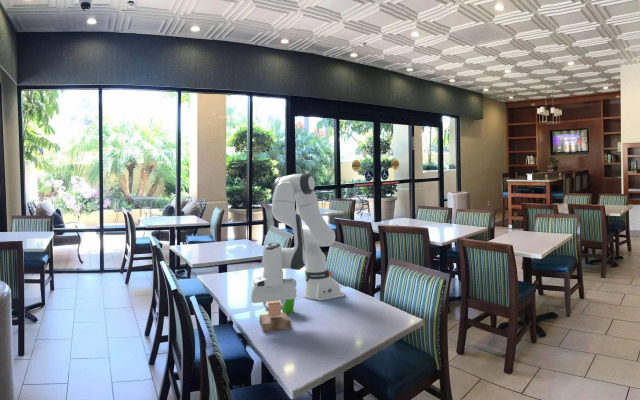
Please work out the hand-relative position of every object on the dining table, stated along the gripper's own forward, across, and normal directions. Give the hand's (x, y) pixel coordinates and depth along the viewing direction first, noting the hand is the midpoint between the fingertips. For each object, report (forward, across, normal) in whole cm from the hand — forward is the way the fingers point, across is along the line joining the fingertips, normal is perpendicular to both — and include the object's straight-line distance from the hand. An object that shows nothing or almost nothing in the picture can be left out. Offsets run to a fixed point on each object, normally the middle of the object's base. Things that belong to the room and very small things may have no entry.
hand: (274, 310), depth 191 cm
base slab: (+8, 0, 0) cm, 8 cm away
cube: (+2, 0, 0) cm, 2 cm away
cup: (+7, -9, -16) cm, 20 cm away
